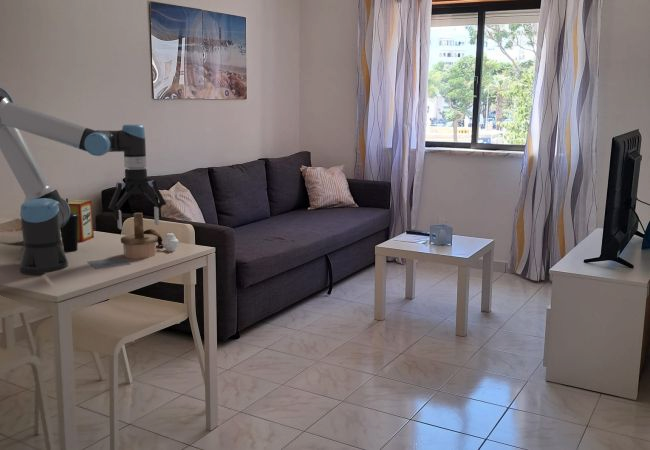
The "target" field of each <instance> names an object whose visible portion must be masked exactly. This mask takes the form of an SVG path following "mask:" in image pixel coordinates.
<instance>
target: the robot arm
mask: <svg viewBox="0 0 650 450" xmlns="http://www.w3.org/2000/svg"><path fill="white" fill-rule="evenodd" d="M21 131H22V132H26V133H30V134H32V135H35V136H38V137H42V138H44V139H48V140H51V141H54V142H57V143H60V144H64V145H66V146H69V147H73V148H75V149H78V150H81V151H83V152H86V153H88V154H90V155H92V156H95V157H101V156H104V155H106V154H107V153H114V152H115V153H116V152H117V153H118V152H119V153H122V152H123V158H124V160H123V161H124V168H125V169H124V178H125V180H124V183H123V182H116V184H115V185H116V186H115V191H114V193H113V194H112V198H111V199H110V202H109V205H108V206H107V207H108V209H109V210H112V211H113V218H114V220H116V221H117V229H119V230H122V229H123V223H122V222H123V221H122V220H123V219H122V211H121V208H122V207H123V206H124V204H125V202H126V201H127V200H128V198H129V197H130V196H131V195H142V194H144V195H145V196H146V197H147V198H148V199H149V201H151V202H152V204H154V205H155V206H154V207H153V210H154V211H153V212H154V213H153V216H154V225H156V226H160V217H161V216H162V207H163V206H165V205H166V203H167V202H166V201H165V198H164V197H163V196H162V193H161V192H160V190H159V188H158V185H157V181H155V180H153V179H151V180H149V181H148V173H147V172H148V169H146V167H147V153H146V152H147V151H146V150H147V149H146V147H147V146H146V136H145V135H146V132H145V127H144V126H143V125H142V124H123V125H122V127H121V129H120V130H106V129H105V130H103V129H102V130H101V129H99V130H97V129H96V130H95V129H91V128H88V127H85V126H82V125H79V124H77V123H73V122H70V121H69V120H64V119H62V118H59V117H56V116H53V115H50V114H46V113H45V112H44V113H43V112H41V111H38V110H35V109H32V108H29V107H25V106H23V105H19V104H17V103H14V100H13V98H12V96H11V95H10V93H9V92H8V91H7V90H5V89H4V88H2V87H0V152H1V154H2V155H3V158H4V159H5V161H6V162H7V164H8V167H9V168H10V170H11V172H12V174H13V175H14V177H15V179H16V181H17V183H18V185H19V186H20V188H21V190H22V191H23V194H24V196H25V198H24V202H23V203H22V204H21V205H20V211H19V214H20V221H21V230H22V231H21V232H22V241H23V242H22V243H23V251H22V255H21V258H20V261H19V272H20V273H21V274H25V275H34V276H35V275H38V276H39V275H46V273H52V272H57V271H62V270H64V269H67V267H69V262H68V258H67V256H66V254H65V251H64V249H63V246H62V237H61V231H60V229H61V228H62V227H64V226H65V225H66V223H67V222H68V220H69V217H70V207H69V205H68V203H67V202H66V199H64V198H63V197H62V196H61V195H60V193H59V192H58V190H57V188H56V187H53V186H50V184H49V183H48V180H47V178H46V176H45V175H44V173H43V171H42V169H41V167H40V165H39V163H38V162H37V160H36V158H35V156H34V154H33V153H32V150H31V149H30V146H29V145H28V143H27V141H26V139H25V137H24V136H23V133H22V132H21ZM148 186H149V187H150V188H151V189H152V191H153V192H154V194H155V196H156V197H157V199H158V200H157V199H156V198H155V196H153V194H152V193H151V192H150V191H149V190H148ZM124 188H125V189H126V190H125V191H124V193H123V195H122V196H121V197H120V194H121V192H122V190H123V189H124ZM119 197H120V198H119Z"/></svg>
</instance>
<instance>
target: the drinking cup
mask: <svg viewBox="0 0 650 450" xmlns="http://www.w3.org/2000/svg"><path fill="white" fill-rule="evenodd" d="M68 199H69V198H67V197H66V198H65V201H66V202H67V203H68V202H69V200H68ZM78 216H79V214H76V213H74V212H70V217H69V220H68V222H67V223H66V225H65V226H64V227H62V228H61V229H60V237H61V244H62V249H63V251H64V252H67V253H68V252H75V251H78V242H77V241H78Z"/></svg>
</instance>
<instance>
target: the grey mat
mask: <svg viewBox="0 0 650 450" xmlns="http://www.w3.org/2000/svg"><path fill="white" fill-rule="evenodd" d="M87 264H88V265H90V266H91V267H93V269H95V270H98V269H106V268H107V269H108V268H114V267H123V266H129V265H131V262H129V261H127V260H126V259H124V258H123V257H121V256H120V257H113V258H105V259H103V258H102V259H98V260H89V261H87Z"/></svg>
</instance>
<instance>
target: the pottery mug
mask: <svg viewBox="0 0 650 450" xmlns="http://www.w3.org/2000/svg"><path fill="white" fill-rule="evenodd" d="M144 234H151V235H156V236H158V241H157V242H156V243H157V244H158V246H161V247H162V249H165V248H164V246H163V244H162V240H163V238H162V236H161V234H159V232H157V231H156V230H155V229H152V228H148V229H145V230H144Z"/></svg>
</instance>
